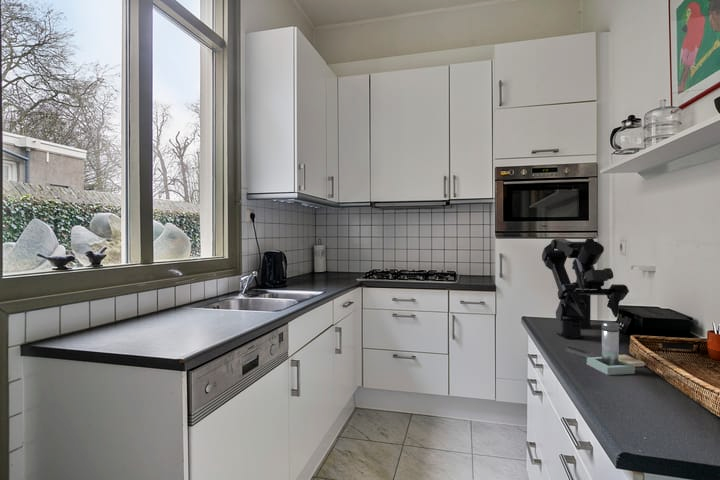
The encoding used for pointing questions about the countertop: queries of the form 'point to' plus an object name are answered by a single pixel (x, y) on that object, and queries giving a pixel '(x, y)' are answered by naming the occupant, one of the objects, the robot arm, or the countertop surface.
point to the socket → (611, 370)
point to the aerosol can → (588, 303)
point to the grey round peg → (610, 343)
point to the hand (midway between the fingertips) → (599, 316)
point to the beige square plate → (631, 360)
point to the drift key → (579, 352)
